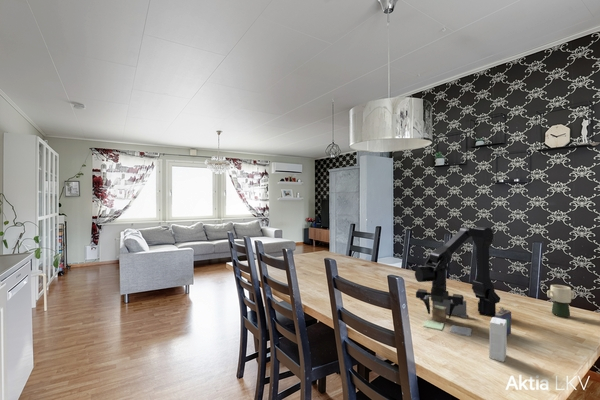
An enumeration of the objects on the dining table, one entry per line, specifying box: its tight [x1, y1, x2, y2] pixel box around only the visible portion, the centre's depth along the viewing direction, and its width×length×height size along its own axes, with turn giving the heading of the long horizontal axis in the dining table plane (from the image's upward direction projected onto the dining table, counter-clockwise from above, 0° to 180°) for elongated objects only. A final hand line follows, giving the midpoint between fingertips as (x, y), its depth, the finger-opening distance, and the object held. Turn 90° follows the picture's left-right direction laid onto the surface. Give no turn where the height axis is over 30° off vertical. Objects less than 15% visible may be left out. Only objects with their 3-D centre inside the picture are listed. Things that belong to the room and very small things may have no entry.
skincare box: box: [488, 316, 508, 363], centre depth 100 cm, size 6×4×12 cm
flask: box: [495, 306, 512, 337], centre depth 115 cm, size 9×3×11 cm, turn 121°
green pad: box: [423, 319, 445, 331], centre depth 125 cm, size 7×7×1 cm
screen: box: [432, 299, 468, 319], centre depth 138 cm, size 14×5×7 cm, turn 58°
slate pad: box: [450, 324, 472, 337], centre depth 119 cm, size 7×7×1 cm
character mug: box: [546, 284, 575, 318], centre depth 135 cm, size 11×7×13 cm, turn 83°
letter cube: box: [431, 305, 447, 323], centre depth 132 cm, size 5×5×5 cm
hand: (439, 315), depth 132 cm, fingers open, 8 cm apart
